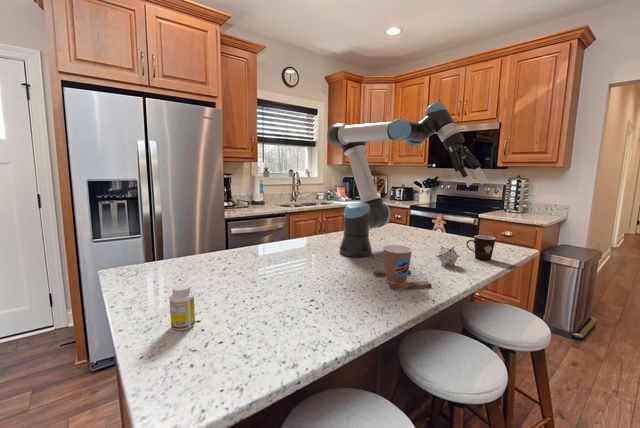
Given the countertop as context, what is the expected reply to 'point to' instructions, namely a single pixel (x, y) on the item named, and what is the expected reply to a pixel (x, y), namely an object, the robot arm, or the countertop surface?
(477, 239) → the coffee mug
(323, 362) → the countertop surface
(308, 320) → the countertop surface
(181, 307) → the supplement bottle
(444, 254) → the game die
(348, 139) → the robot arm
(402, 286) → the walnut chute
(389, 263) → the coffee cup
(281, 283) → the countertop surface
